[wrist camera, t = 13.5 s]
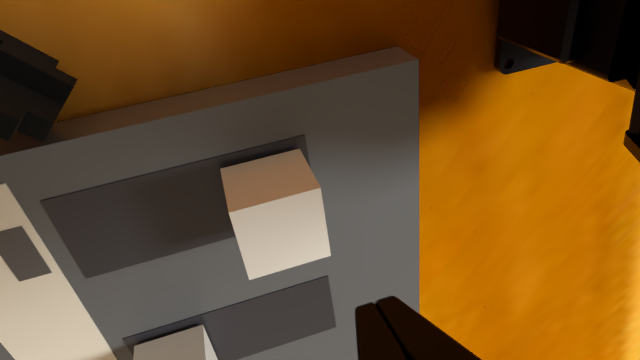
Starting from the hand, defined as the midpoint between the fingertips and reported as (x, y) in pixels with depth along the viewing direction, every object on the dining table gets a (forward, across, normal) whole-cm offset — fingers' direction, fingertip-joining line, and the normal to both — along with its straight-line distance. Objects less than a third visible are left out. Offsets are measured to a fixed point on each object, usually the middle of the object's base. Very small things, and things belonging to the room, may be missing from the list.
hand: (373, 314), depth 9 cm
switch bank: (+12, +4, +11) cm, 17 cm away
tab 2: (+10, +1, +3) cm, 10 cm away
